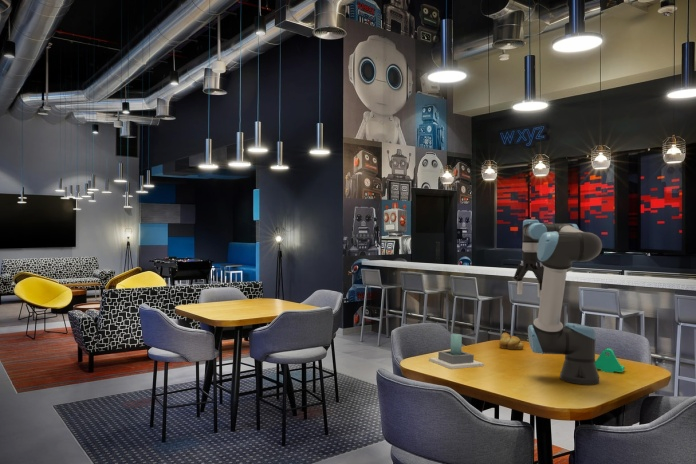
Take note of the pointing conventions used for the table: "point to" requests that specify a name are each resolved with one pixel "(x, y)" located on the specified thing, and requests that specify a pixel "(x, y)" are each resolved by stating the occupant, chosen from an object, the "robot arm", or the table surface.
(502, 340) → the bread roll
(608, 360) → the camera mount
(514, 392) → the table surface
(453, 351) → the peg
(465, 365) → the dock
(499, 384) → the table surface
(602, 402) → the table surface
